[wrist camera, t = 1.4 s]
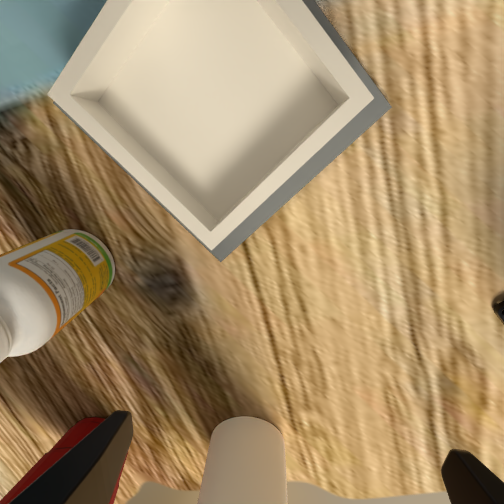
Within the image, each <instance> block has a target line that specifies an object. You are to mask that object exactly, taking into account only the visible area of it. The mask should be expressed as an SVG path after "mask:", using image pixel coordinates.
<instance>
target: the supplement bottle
mask: <svg viewBox="0 0 504 504" xmlns="http://www.w3.org/2000/svg"><path fill="white" fill-rule="evenodd" d="M114 275H115V264H114V260H113V257H112V255H111V253H110V251H109V250H108V248H107V247H106V246H105V245H104V244H103V243H102V242H101V241H100V240H99V239H98V238H96V237H95V236H93V235H92V234H90V233H87V232H85V231H81V230H76V229H67V230H62V231H58V232H55V233H53V234H50V235H48V236H45V237H43V238H41V239H38V240H36V241H33V242H31V243H28V244H26V245H23V246H21V247H18V248H16V249H13V250H11V251H8V252H6V253H3V254H1V255H0V363H1V362H2V361H3V360H4V359H6V358H7V357H14V356H21V355H25V354H28V353H31V352H33V351H35V350H37V349H38V348H40V347H41V346H43V345H44V344H45V343H46V342H48V341H49V340H50V339H51V338H52V337H53V336H55V335H56V334H57V333H58V332H59V331H60V330H61V329H62V328H64V327H65V326H66V325H67V324H68V323H69V322H70V321H72V320H73V319H74V318H75V317H76V316H77V315H78V314H79V313H81V312H82V311H83V310H84V309H85V308H86V307H87V306H89V305H90V304H91V303H92V302H93V301H94V300H95V299H97V298H98V297H99V296H100V295H101V294H102V293H103V292H104V291H105V290H106V289H107V288H108V287H109V286H110V285H111V283H112V281H113V279H114Z"/></svg>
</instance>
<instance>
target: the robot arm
mask: <svg viewBox="0 0 504 504" xmlns="http://www.w3.org/2000/svg"><path fill="white" fill-rule="evenodd" d="M502 310H503V311H502ZM494 313H495V314H496V315H497V316H498V318H499V319H500V320H501V321H502V323H503V324H504V301H502V302H500V303H499V304H497V305H496V306H495V307H494ZM132 437H133V425H132V415H131V413H130V412H129V411H121V410H117V411H115V412H113V413H112V414H111V415H110V416H109V417H108V418H106V419H105V420H104V421H103V422H102V423H101V424H99V425H98V426H97V427H96V428H95V429H94V430H93V431H91V432H90V433H89V434H88V435H87V436H86V437H84V438H83V439H82V440H81V441H80V442H79V443H78V444H76V445H75V446H74V447H73V448H72V449H71V450H69V451H68V452H67V453H66V454H65V455H64V456H63V457H61V458H60V459H59V460H58V461H57V462H56V463H55V464H53V465H52V466H51V467H50V468H49V469H48V470H46V471H45V472H44V473H43V474H42V475H41V476H40V477H38V478H37V479H36V480H35V481H34V482H33V483H31V484H30V485H29V486H28V487H27V488H26V489H25V490H23V491H22V492H21V493H20V494H19V495H18V496H16V497H15V498H14V499H13V500H12V501H11V502H10V503H8V504H109V502H110V499H111V497H112V494H113V491H114V488H115V485H116V483H117V480H118V477H119V474H120V471H121V469H122V466H123V463H124V460H125V457H126V455H127V452H128V449H129V446H130V443H131V440H132ZM441 473H442V478H443V481H444V484H445V487H446V490H447V493H448V496H449V499H450V502H451V504H504V482H503V481H501V480H500V479H499V478H498V477H497V476H496V475H495V474H494V473H493V472H491V471H490V470H489V469H488V468H487V467H486V466H485V465H484V464H483V463H481V462H480V461H479V460H478V459H477V458H476V457H475V456H474V455H473V454H471V453H470V452H468V451H466V450H459V449H452V450H450V451H449V453H448V455H447V457H446V459H445V461H444V463H443V465H442V469H441Z"/></svg>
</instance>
